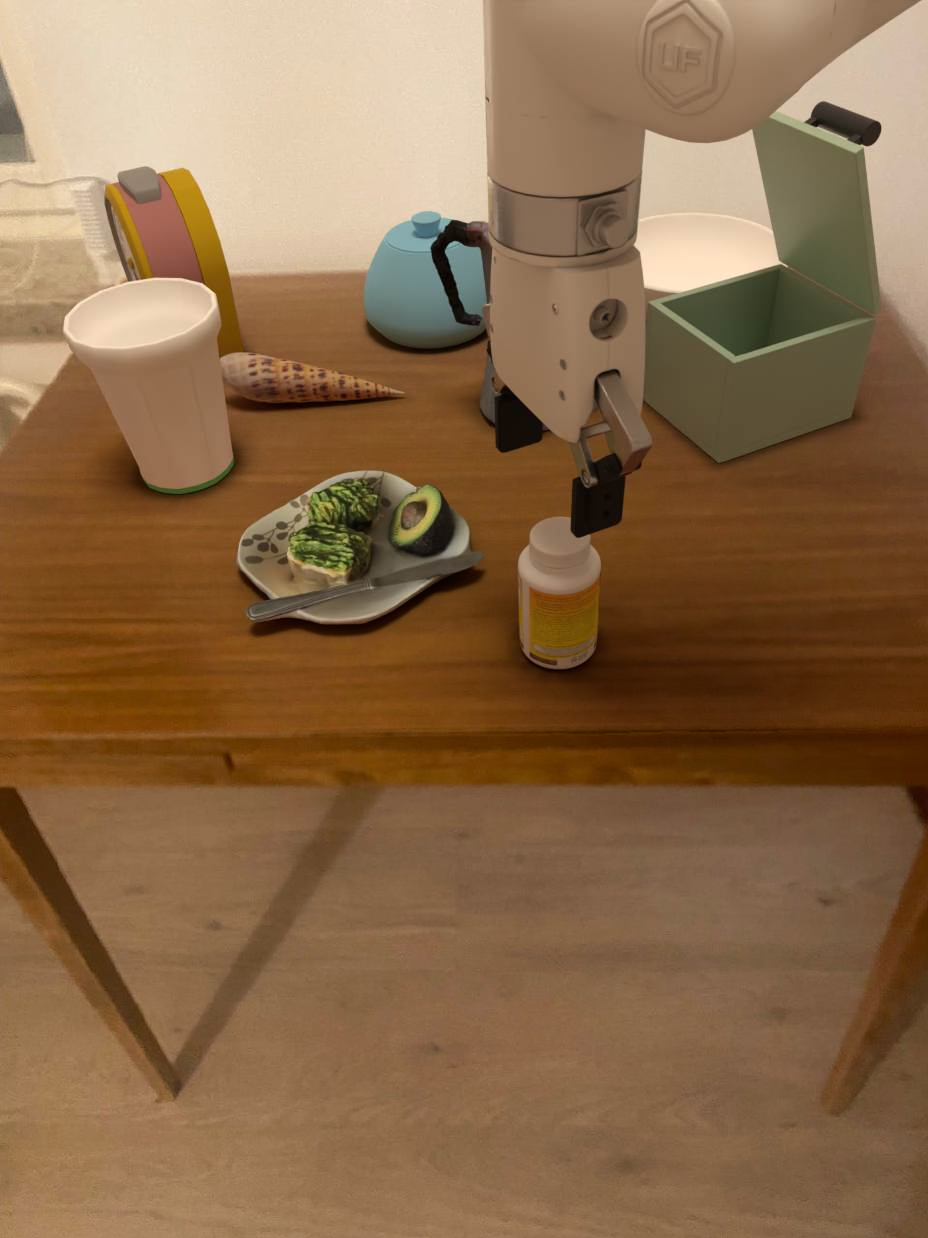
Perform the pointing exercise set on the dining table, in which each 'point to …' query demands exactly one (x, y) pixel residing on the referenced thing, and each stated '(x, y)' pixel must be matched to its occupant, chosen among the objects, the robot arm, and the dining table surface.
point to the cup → (159, 376)
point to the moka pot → (471, 237)
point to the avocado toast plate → (353, 549)
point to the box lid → (822, 198)
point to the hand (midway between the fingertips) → (555, 484)
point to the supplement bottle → (558, 595)
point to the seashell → (293, 381)
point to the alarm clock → (171, 238)
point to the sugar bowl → (422, 286)
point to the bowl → (699, 251)
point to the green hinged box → (754, 360)
